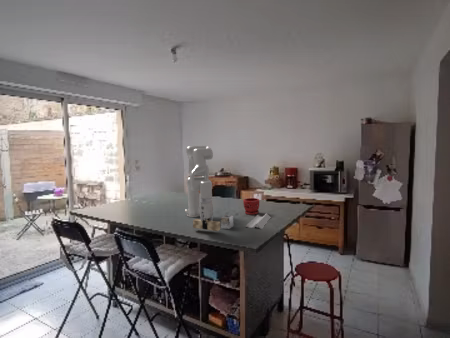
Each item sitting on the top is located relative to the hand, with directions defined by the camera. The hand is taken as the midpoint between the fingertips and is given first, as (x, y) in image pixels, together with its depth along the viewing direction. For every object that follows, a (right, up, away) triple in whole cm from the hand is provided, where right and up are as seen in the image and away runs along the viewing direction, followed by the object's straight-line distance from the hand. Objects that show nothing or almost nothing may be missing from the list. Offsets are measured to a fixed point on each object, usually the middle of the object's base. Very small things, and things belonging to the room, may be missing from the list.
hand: (206, 227), depth 182 cm
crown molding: (+37, -1, +21) cm, 43 cm away
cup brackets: (+6, -2, +13) cm, 15 cm away
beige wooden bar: (0, -1, 0) cm, 1 cm away
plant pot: (+34, +1, +49) cm, 60 cm away
